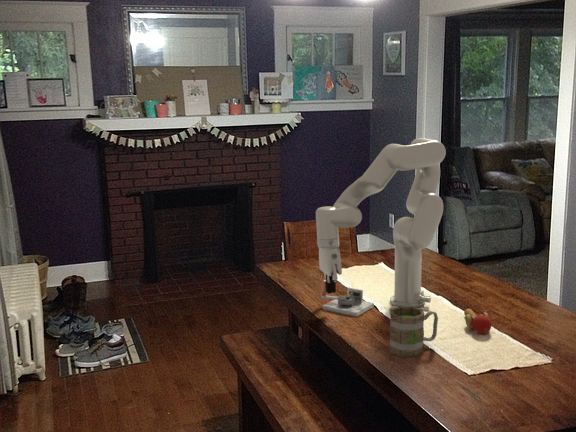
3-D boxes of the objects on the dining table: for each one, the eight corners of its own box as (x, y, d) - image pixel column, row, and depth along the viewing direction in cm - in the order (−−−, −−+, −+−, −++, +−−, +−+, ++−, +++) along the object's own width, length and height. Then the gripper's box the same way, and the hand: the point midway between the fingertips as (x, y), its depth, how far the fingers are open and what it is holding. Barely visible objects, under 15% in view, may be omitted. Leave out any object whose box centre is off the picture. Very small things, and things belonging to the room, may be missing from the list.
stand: (373, 306, 235) (373, 291, 234) (356, 317, 226) (356, 300, 225) (340, 300, 244) (340, 284, 242) (322, 309, 234) (322, 293, 233)
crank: (356, 301, 236) (356, 281, 235) (351, 306, 231) (351, 286, 229) (324, 297, 241) (324, 277, 239) (319, 302, 235) (318, 282, 234)
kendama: (454, 321, 224) (470, 333, 206) (458, 303, 224) (473, 314, 206) (477, 324, 224) (494, 337, 206) (480, 306, 224) (497, 318, 206)
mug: (397, 359, 191) (398, 320, 189) (382, 345, 202) (382, 308, 199) (445, 351, 196) (446, 313, 193) (428, 338, 206) (429, 302, 203)
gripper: (346, 245, 221) (349, 296, 225) (329, 236, 235) (332, 284, 239) (326, 248, 219) (329, 300, 223) (310, 239, 233) (313, 288, 237)
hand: (330, 292), depth 231 cm, fingers closed
